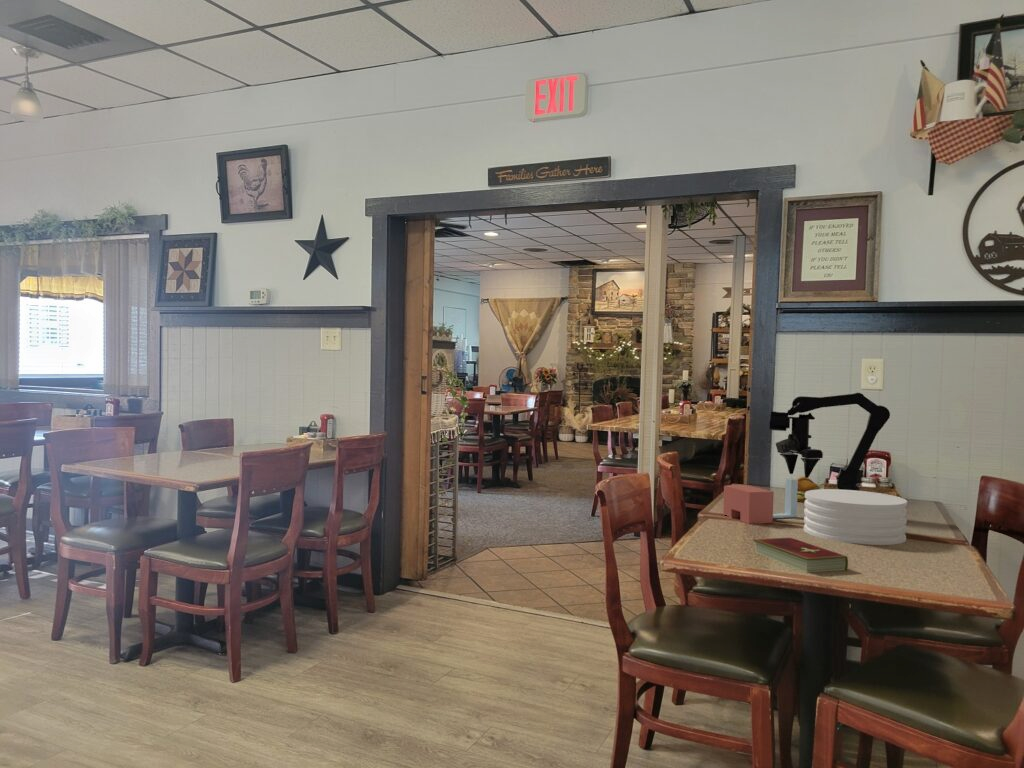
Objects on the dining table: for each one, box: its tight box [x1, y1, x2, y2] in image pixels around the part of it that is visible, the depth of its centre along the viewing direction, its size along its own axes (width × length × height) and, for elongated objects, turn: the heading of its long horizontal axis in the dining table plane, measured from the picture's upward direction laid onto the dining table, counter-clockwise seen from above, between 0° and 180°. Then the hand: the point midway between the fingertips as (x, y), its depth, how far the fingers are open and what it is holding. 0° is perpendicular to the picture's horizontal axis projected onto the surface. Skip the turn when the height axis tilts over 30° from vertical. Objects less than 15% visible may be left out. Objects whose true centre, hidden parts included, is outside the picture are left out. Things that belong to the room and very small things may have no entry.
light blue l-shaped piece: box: [773, 478, 798, 519], centre depth 247 cm, size 13×3×12 cm, turn 108°
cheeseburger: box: [797, 476, 820, 503], centre depth 282 cm, size 10×11×10 cm
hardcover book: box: [752, 536, 849, 574], centre depth 189 cm, size 12×21×4 cm, turn 18°
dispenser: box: [722, 484, 775, 525], centre depth 243 cm, size 10×14×10 cm
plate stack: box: [803, 488, 908, 546], centre depth 224 cm, size 28×28×12 cm
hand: (798, 475), depth 262 cm, fingers open, 9 cm apart
